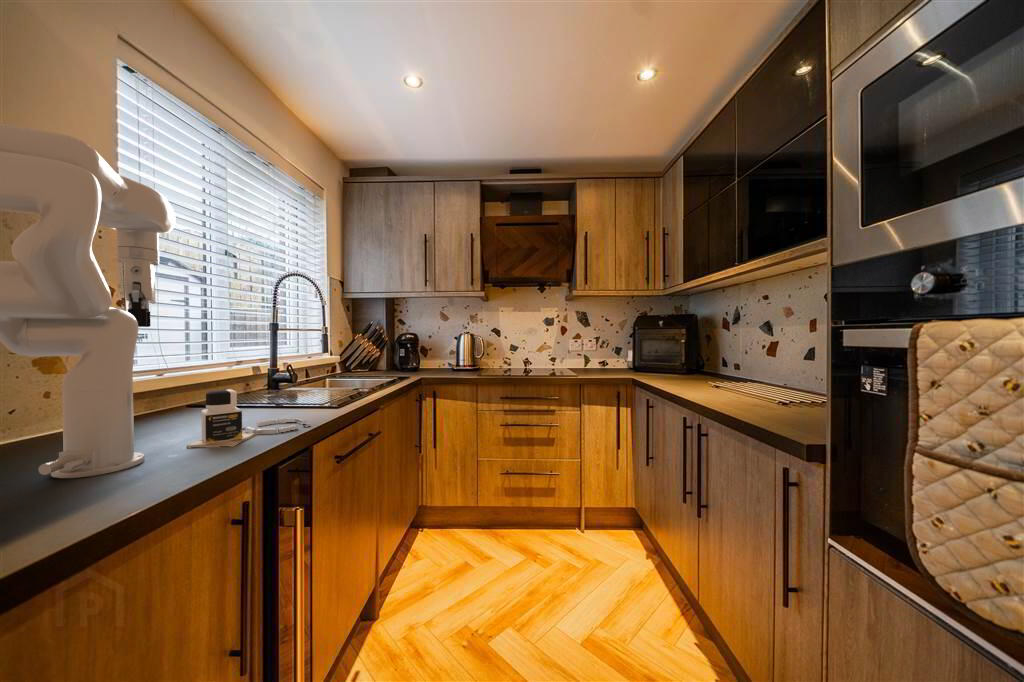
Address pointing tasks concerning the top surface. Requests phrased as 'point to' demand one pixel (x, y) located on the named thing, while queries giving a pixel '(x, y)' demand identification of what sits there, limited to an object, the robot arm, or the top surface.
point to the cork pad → (225, 443)
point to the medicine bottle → (221, 417)
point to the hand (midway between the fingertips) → (139, 326)
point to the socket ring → (274, 430)
